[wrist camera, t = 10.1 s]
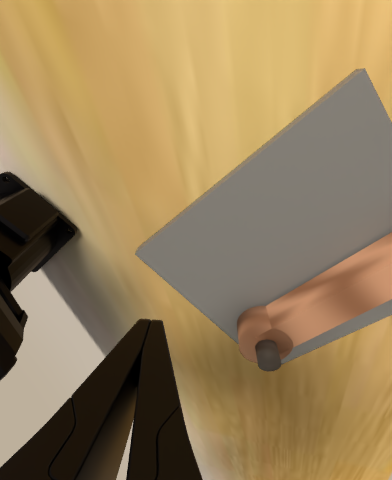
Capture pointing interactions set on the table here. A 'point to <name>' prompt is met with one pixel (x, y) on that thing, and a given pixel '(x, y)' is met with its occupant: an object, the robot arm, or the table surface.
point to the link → (317, 305)
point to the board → (286, 214)
